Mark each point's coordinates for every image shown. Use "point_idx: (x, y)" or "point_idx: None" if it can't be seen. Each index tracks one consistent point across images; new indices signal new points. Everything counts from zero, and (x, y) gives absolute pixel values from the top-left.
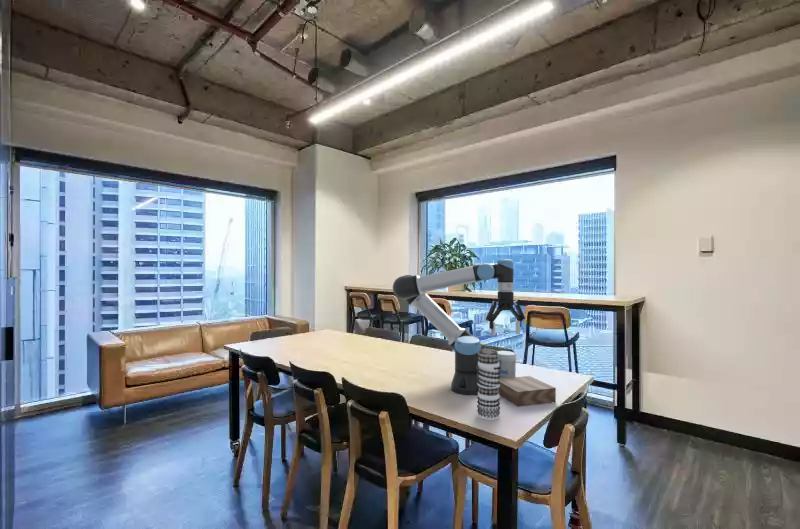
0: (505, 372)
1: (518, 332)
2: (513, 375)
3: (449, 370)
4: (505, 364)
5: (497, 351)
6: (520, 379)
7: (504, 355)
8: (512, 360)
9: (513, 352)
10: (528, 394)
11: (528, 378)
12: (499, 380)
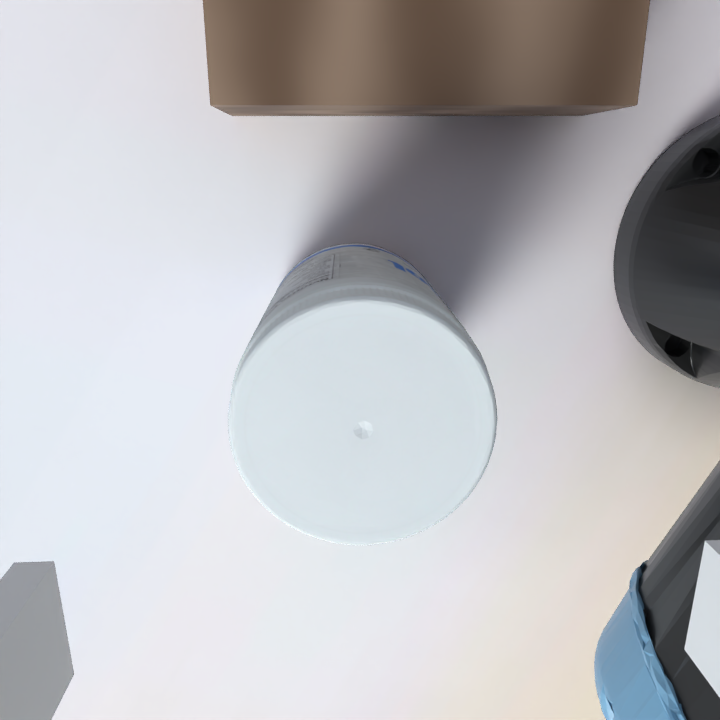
0: (409, 272)
1: (32, 607)
2: (319, 258)
3: (596, 703)
4: (421, 288)
5: (429, 522)
6: (386, 7)
7: (450, 322)
8: (335, 281)
9: (236, 430)
10: None
11: (278, 15)
12: (623, 43)
